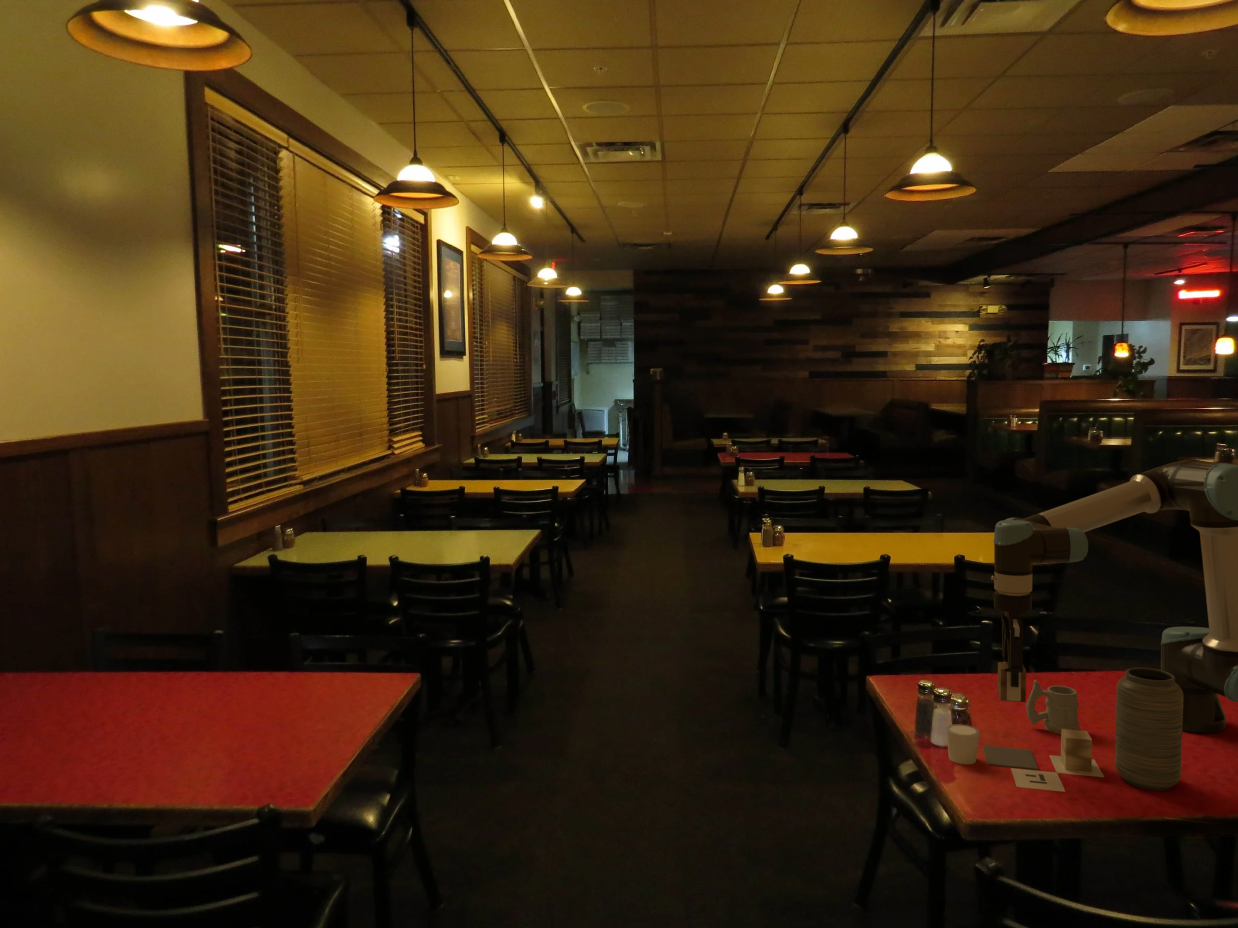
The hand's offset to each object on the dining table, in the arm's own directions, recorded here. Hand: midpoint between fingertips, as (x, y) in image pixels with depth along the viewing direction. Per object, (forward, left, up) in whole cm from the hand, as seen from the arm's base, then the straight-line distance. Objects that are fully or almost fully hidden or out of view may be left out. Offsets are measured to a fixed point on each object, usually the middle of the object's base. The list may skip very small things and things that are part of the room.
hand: (1011, 695), depth 187 cm
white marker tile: (-4, +10, -15) cm, 18 cm away
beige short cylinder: (+10, +3, -15) cm, 18 cm away
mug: (-12, -20, -15) cm, 28 cm away
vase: (-25, +5, -15) cm, 30 cm away
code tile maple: (-13, +1, -15) cm, 19 cm away
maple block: (-13, +1, -14) cm, 19 cm away
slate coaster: (0, 0, -15) cm, 15 cm away
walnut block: (0, 0, 0) cm, 0 cm away
